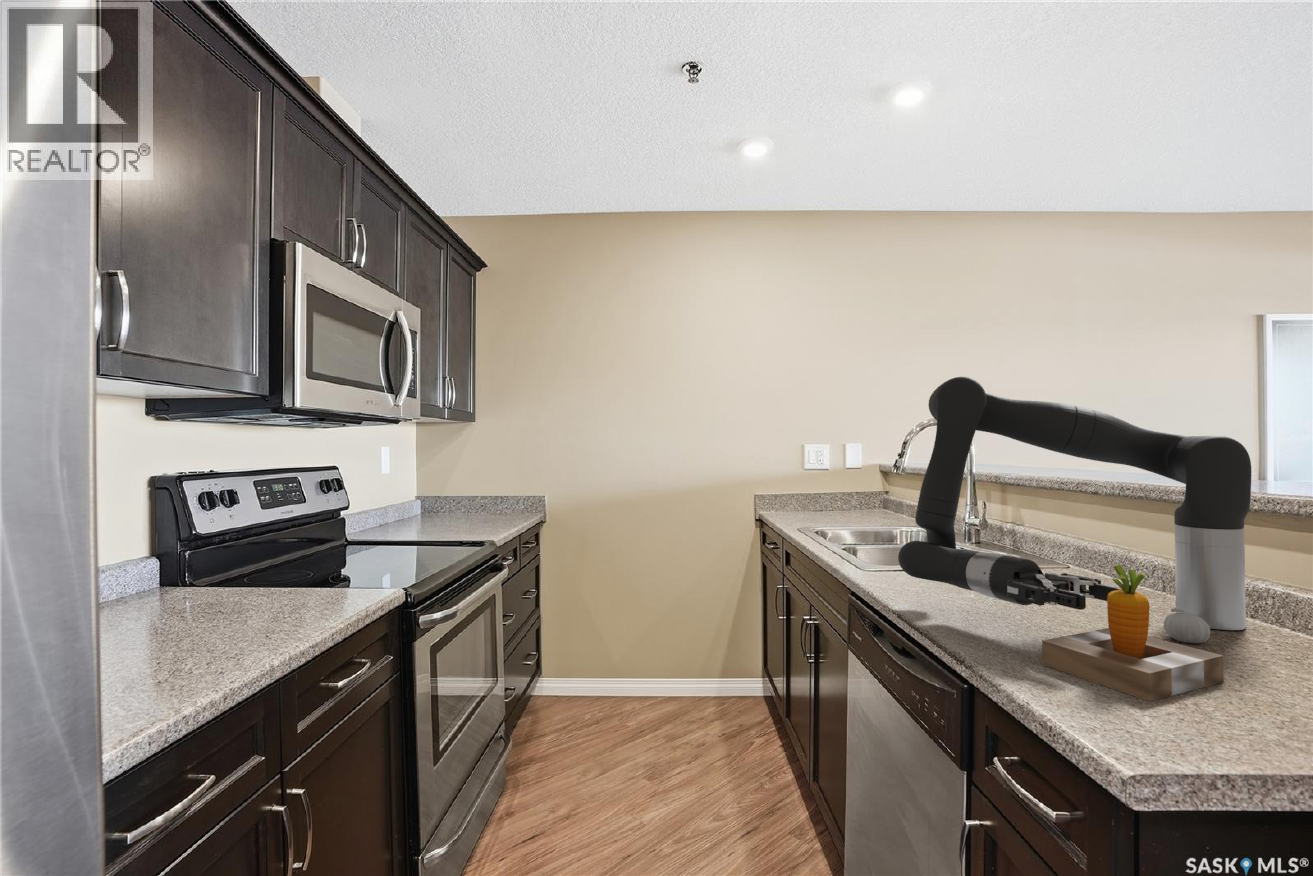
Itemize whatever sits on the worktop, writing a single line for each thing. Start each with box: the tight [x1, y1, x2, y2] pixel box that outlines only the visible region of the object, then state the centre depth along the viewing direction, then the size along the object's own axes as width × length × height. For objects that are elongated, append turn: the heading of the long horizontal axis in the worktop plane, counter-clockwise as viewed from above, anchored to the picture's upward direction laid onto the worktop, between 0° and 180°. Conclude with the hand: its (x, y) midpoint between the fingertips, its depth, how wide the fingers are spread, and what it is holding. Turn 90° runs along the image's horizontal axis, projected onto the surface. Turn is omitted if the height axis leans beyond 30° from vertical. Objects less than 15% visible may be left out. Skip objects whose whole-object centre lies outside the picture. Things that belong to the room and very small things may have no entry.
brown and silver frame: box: [1041, 627, 1225, 702], centre depth 86 cm, size 16×14×4 cm
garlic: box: [1163, 607, 1211, 644], centre depth 100 cm, size 6×5×5 cm
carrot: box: [1106, 564, 1150, 659], centre depth 86 cm, size 5×5×15 cm
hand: (1103, 599), depth 89 cm, fingers open, 8 cm apart
